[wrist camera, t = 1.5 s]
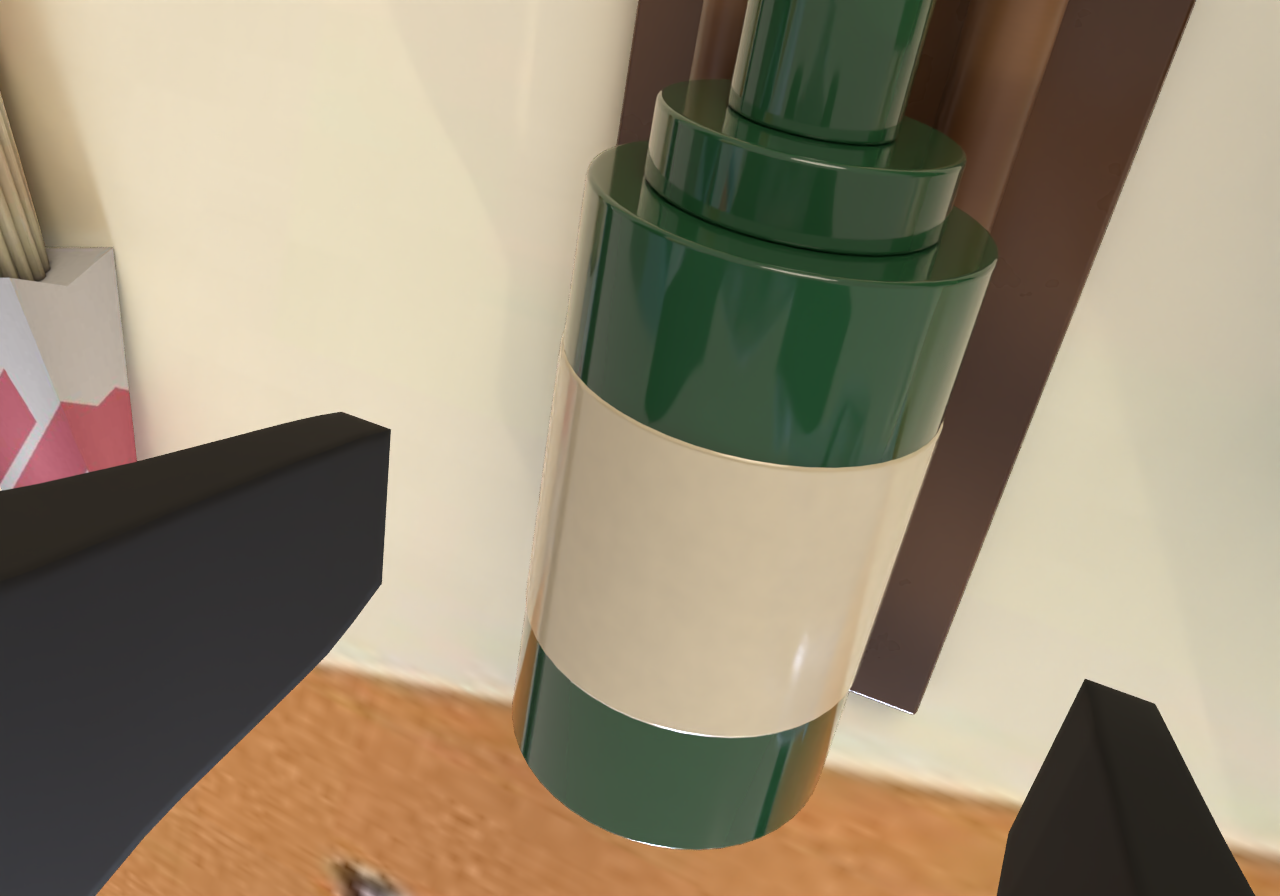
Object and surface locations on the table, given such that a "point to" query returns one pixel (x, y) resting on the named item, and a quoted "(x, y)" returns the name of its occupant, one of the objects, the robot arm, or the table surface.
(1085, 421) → the table surface
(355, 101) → the table surface
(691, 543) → the bottle
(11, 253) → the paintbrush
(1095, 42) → the rack
